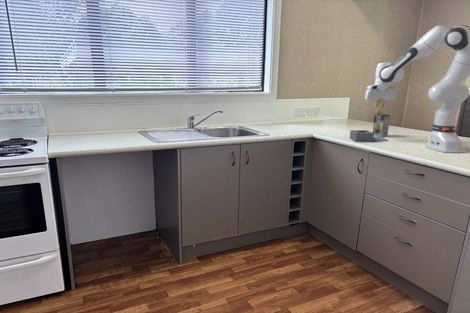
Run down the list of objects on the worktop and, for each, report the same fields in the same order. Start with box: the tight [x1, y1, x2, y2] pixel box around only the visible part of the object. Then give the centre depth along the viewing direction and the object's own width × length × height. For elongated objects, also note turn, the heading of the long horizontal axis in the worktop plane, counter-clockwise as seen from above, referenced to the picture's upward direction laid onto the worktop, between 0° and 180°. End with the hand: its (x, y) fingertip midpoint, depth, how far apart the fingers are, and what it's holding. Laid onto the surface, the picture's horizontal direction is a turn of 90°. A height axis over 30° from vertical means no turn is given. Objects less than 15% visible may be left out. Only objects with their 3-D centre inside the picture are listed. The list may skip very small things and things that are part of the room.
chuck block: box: [349, 129, 375, 143], centre depth 234 cm, size 12×12×6 cm
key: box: [374, 99, 384, 116], centre depth 232 cm, size 4×4×12 cm
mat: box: [373, 136, 388, 142], centre depth 238 cm, size 12×10×1 cm
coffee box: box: [372, 113, 391, 138], centre depth 249 cm, size 9×6×16 cm
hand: (379, 107), depth 232 cm, fingers closed on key, 4 cm apart
